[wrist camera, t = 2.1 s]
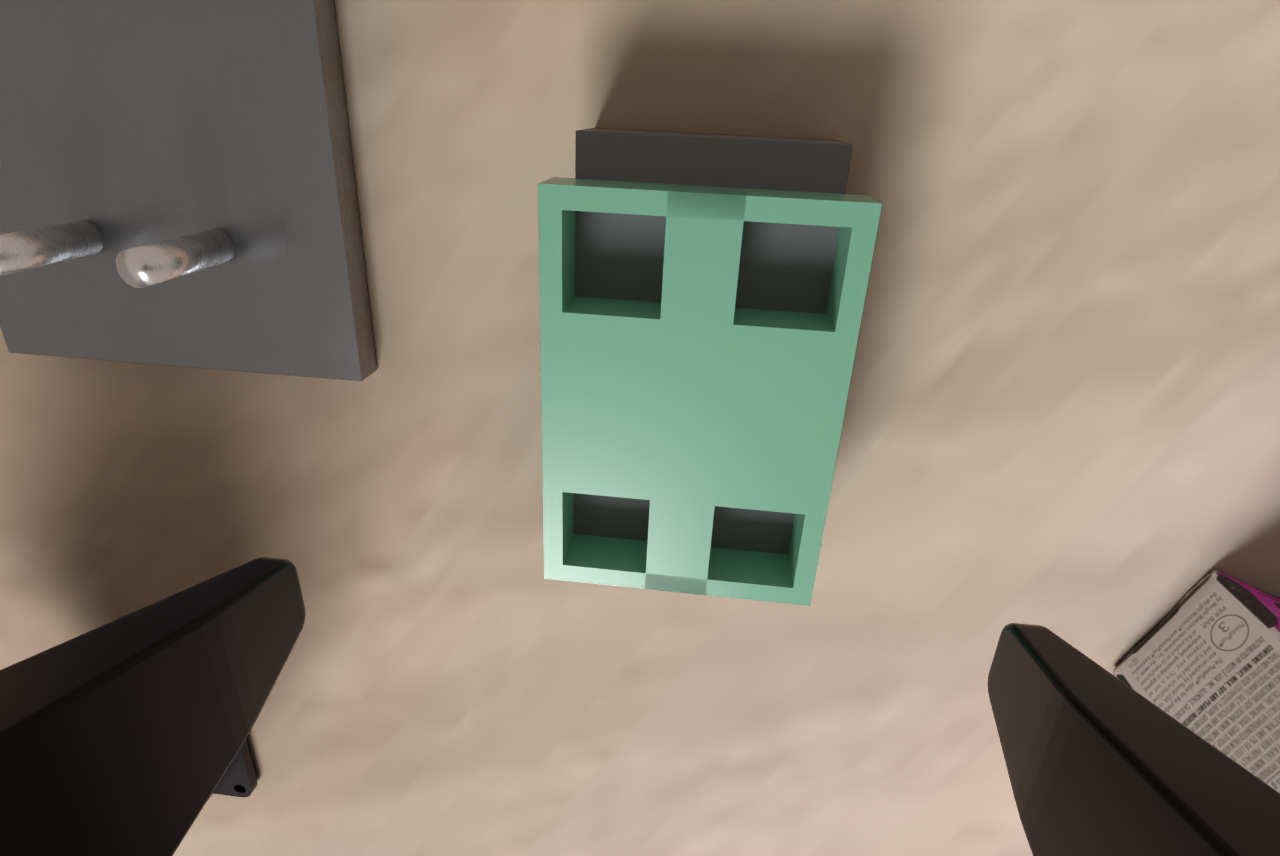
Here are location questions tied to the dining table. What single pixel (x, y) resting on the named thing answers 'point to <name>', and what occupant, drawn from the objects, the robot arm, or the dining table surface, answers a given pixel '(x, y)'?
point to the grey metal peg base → (180, 187)
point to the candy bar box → (1218, 670)
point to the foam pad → (767, 279)
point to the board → (694, 390)
